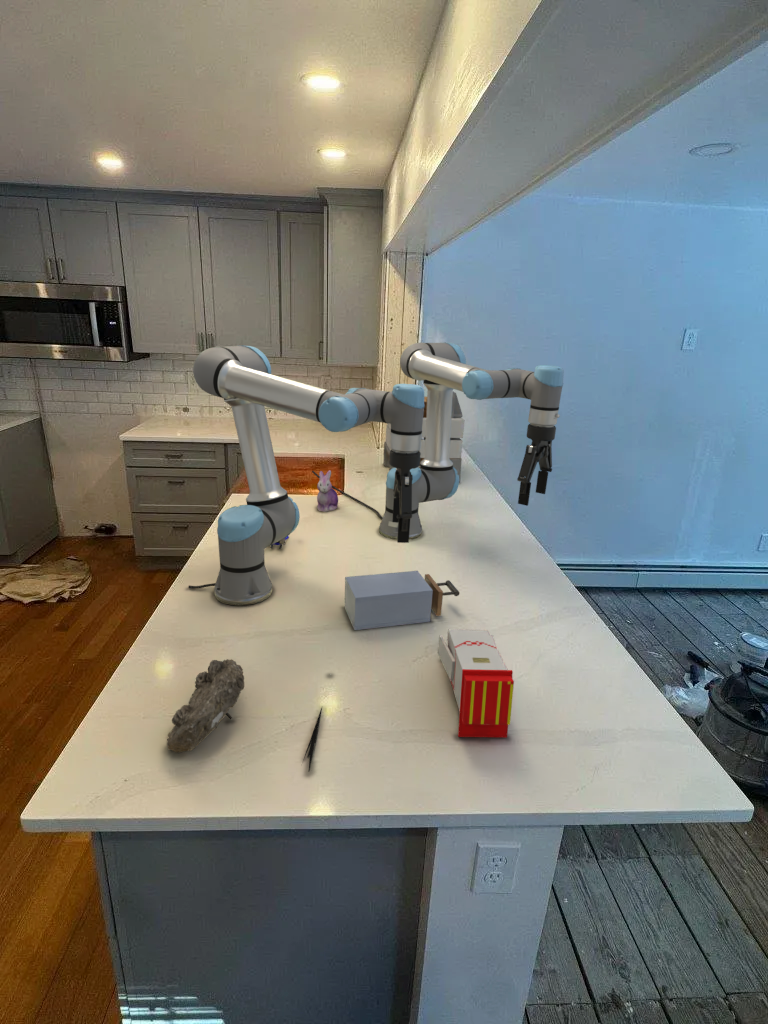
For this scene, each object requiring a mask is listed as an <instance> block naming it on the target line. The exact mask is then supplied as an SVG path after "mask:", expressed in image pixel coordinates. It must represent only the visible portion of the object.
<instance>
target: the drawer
mask: <svg viewBox="0 0 768 1024" xmlns="http://www.w3.org/2000/svg"><path fill="white" fill-rule="evenodd" d="M424 580H425V581H426V582H427V584H428V585H429V586H430V587H431V589H432V590H433V593H432V604H431V611H432V612H433V613H434V615H435V616H436V617H441V616H442V608H443V607H442V606H443V597H444V596H453V595H454V597H459V595H460V591H459V590H458V589H457V587H456V586H455V585H454V584H453V582H451V580H446V581H445V582H436V580H434V579H433V577H432V576H431V575H430V573H426V574H424ZM443 586H446V587H447V588H448V590H449V591H447V592H444V591H443V590H442V588H441V587H443Z"/></svg>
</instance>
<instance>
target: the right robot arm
mask: <svg viewBox="0 0 768 1024" xmlns="http://www.w3.org/2000/svg"><path fill="white" fill-rule="evenodd" d="M399 366H400V369H401V372H402V373H403V374H404V375H405V376H406V377H407V378H409V379H412V380H415V381H419V382H421V381H422V384H423V386H424V387H425V388H426V389H427V392H426V393H427V394H426V397H427V415H426V440H425V458H424V459H423V460H422V461H421V462H420V466H419V467H417V468H415V469H411V470H410V472H411V475H412V476H413V480H412V518H410V531H409V541H410V540H415V539H418V538H420V537H421V536H422V535H423V525H422V524H421V518H420V515H419V507H420V506H419V505H420V503H427V502H434V501H443V500H446V499H450V498H452V497H453V496H454V495H455V494H456V493H457V491H458V489H459V487H460V486H459V485H460V482H459V475H457V473H458V472H457V470H456V469H455V468H454V467H453V463H452V462H451V460H450V459H449V451H450V432H451V414H452V395H453V391H454V390H456V391H459V392H462V393H463V395H465V397H466V398H467V399H469V400H477V401H478V400H479V401H482V400H491V399H493V400H494V399H513V398H514V399H515V398H520V399H526V400H530V405H529V411H528V412H529V413H528V420H527V422H528V424H527V428H526V438H527V439H529V440H531V444H526V447H525V452H524V457H523V459H522V463H521V467H520V470H519V473H518V477H517V479H516V480H517V482H520V485H519V492H518V498H517V504H518V505H522V506H526V507H527V506H529V503H530V494H531V486H532V482H531V479H532V478H533V475H534V472H535V469H536V467H537V465H538V466H539V470H538V472H537V479H536V485H535V493H536V494H541V495H545V494H546V491H547V484H548V477H549V473H552V471H553V468H552V467H553V451H552V445H553V441H554V440H555V438H556V432H557V427H556V425H557V424H558V423H557V422H558V419H559V418H560V417H561V414H559V411H560V403H561V396H562V392H563V387H564V375H565V371H564V369H563V368H562V367H561V366H557V365H547V364H546V365H544V364H543V365H541V364H540V365H537V366H535V368H534V371H533V370H526V369H522V368H518V367H517V368H507V369H498V370H494V369H492V370H491V369H486V368H485V369H484V368H480V367H478V366H475V365H474V366H473V365H470V364H467V359H466V355H465V352H464V351H463V349H462V348H461V346H460V345H458V344H456V343H451V342H445V341H444V342H415V343H412V344H410V345H408V346H407V347H405V348H404V350H403V351H402V353H401V355H400V358H399ZM311 472H312V474H314V476H316V477H317V478H318V479H319V480H320V477H319V474H318V473H317V472H315V471H314V470H312V471H311ZM395 472H396V468H393V469H391V470H390V469H389V470H388V472H387V475H386V479H385V504H384V505H385V507H384V508H385V509H384V513H383V515H381V513H380V512H379V511H378V510H376V509H375V508H374V507H372V506H370V505H368V504H367V503H365V502H363V501H361V500H359V499H358V498H356V497H354V496H352V495H350V494H348V493H346V492H345V491H343V490H341V489H339V488H337V487H336V486H334V485H332V489H334V490H335V491H336V492H338V493H340V494H342V495H344V496H345V497H348V498H349V499H351V500H353V501H355V502H357V503H359V504H361V505H362V506H363V507H366V508H367V509H369V510H371V511H373V512H374V513H375V514H376V515H377V516H378V518H379V519H380V520H381V522H379V526H378V533H379V534H380V535H381V536H382V537H385V538H387V539H389V540H395V541H397V538H398V522H392V520H393V502H394V498H396V497H394V492H393V489H394V481H395ZM404 513H408V512H404Z"/></svg>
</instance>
